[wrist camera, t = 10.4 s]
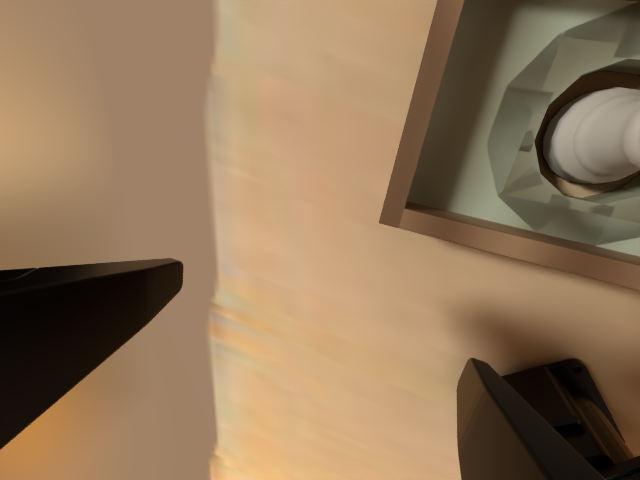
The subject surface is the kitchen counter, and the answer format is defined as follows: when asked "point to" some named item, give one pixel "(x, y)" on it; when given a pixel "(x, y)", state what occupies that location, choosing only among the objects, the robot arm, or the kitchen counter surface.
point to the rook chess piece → (595, 137)
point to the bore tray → (513, 134)
